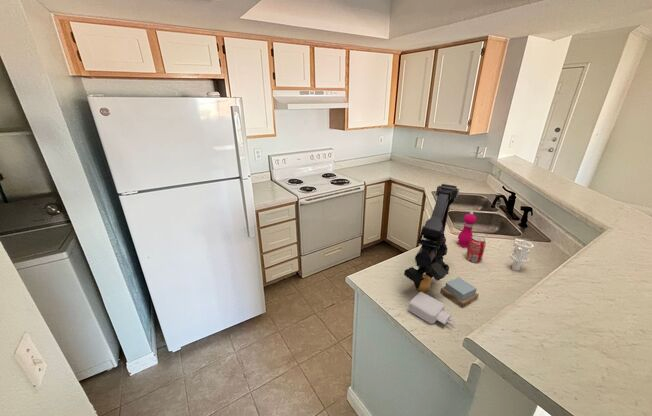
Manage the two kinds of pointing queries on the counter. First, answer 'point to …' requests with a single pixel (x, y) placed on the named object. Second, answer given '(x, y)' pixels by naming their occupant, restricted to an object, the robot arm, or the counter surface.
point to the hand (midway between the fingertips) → (422, 285)
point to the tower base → (458, 301)
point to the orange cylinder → (424, 284)
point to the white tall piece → (520, 253)
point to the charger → (429, 309)
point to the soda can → (475, 248)
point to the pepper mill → (467, 230)
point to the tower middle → (460, 288)
